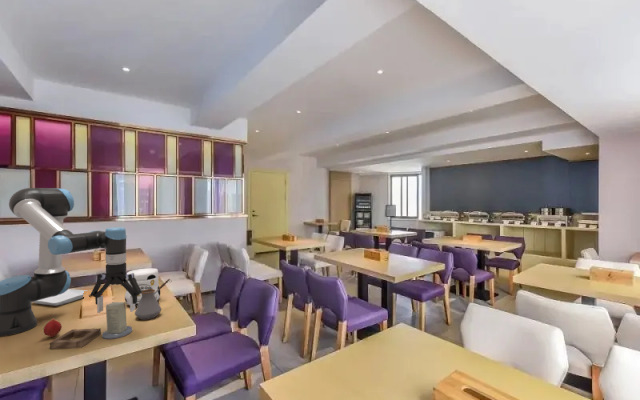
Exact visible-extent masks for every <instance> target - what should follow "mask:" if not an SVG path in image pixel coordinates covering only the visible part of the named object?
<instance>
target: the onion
mask: <svg viewBox="0 0 640 400" xmlns="http://www.w3.org/2000/svg"><path fill="white" fill-rule="evenodd" d="M62 327H63V326H62V324H61V322H59V321H58V320H56V319H55V318H52V319H50V320H49V321H48V322H47V323H46V324H45V325H44V328H43V334H44V335H46V336H47V337H50V338H55V337H56V336H57V335H58V334H59V333H60V332H61V330H62Z"/></svg>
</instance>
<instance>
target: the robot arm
mask: <svg viewBox="0 0 640 400" xmlns="http://www.w3.org/2000/svg"><path fill="white" fill-rule="evenodd" d="M8 206H9V209H10V211H11V212H12V214H14V215H15V216H16V217H17V218H20V219H23V220H25V222H27V223H28V224H29V225H30V226H31V227H33V229H35V230H36V231H37V232H38V233H39V245H38V246H39V247H38V248H39V249H38V268H36V269H35V270H34V272H33V276H31V275H29V274H22V275H21V274H20V275H15V276H11V277H8V278H4V279H2V280H0V337H6V336H5V335H7V336H12V335H17V334H20V333H23V332H26V331H29V330H31V329H33V328H35V327H36V326H38V319H37V317H36V316H35V314H34V311H33V310H32V303H34V302H33V301H37V300H41V299H45V298H49V297H54V296H57V295H59V294H62V293H64V292H66V291H67V290H68V289H70V286H71V282H72V281H71V280H72V279H71V278H72V277H71V276H70V275H71V274H70V273H69V272H68V270H66V268H65V267H64V266H63V265H62V261H63V255H67V254H72V253H77V252H78V253H79V252H84V251H90V250H96V249H97V250H98V249H103V250H105V263H106V264H105V273H106V274H105V273H101V274H98V275H97V281H96V283H95V284H94V287H93V289H92V290H91V291H92V292H91V294H90V295H89V296H90V297H94V298H95V305H97V306H96V307H97V309H96V310H97V313H98V314H99V313H101V312H103V311H104V295H103V293H104V292H105V291H106V290H107V289H108V288H109V286H110V285H111V286H113V285H117V286H119V285H120V286H122V287H123V288H124V289H125V290H127V291H128V292H129V293H130V294H131V295H132V296H131V297H130V305H129V308H130V309H129V312H130V313H133V312H134V311H136V306H135V303H137V295H139V294H141V293H142V291H141V289H140V287H139V285H138V284H137V282H136V280H135V278H134V273H131V274H127V234H126V233H127V231H126V228H125V227H121V226H119V227H116V226H115V227H108V228H106V229H105V231H102V230H93V231H89V232H83V233H73V232H72V231H70V230H69V229H68V228H66V226H64V219H66V218H67V217H68V213H69V212H71V211H72V210H73V209H74V206H75V200H74V197H73V195H72V194H71V192H70V191H69V190H68V189H66V188H59V187H58V188H57V187H53V188H52V187H49V188H48V187H27V188H22V189H20V190H18V191H16V192H15V193H13V194H12V195H11V197H10V198H9V201H8ZM126 277H127V278H126ZM105 279H106V282H104V280H105ZM127 279H129V282H130V284H131V285H132V286H131V285H130V284H129V283H128V281H127ZM103 282H104V285H103V286H102V284H103ZM101 286H102V287H101Z"/></svg>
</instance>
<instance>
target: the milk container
mask: <svg viewBox="0 0 640 400" xmlns="http://www.w3.org/2000/svg"><path fill="white" fill-rule="evenodd" d="M131 273H134V278H135V280H136V282H137V284H138V285H139V287H140V289H141V291H143V290H148V289H154V290H155V291H156V290H158V288H159V287H160V285H159V270H158V268H154V267H146V268H140V269H139V268H138V269H133V270H130V271H128V272H126V274H131ZM126 280H127V281H128V283H129V284H130V282H129V279H127V277H126ZM130 285H131V284H130ZM131 286H132V285H131ZM125 290H126V289H125ZM131 296H132V295H131V294H130V293H129V292H128V291H127V290H126V291H125V295H124V302H126V304H127V305H128V306H130V297H131ZM154 296H155V298H156V300H157V301H159V299H160V297H161V289H160V290H159V291H158V292H157V293H156V294H155V295H154ZM141 297H142V294H139V295H137V303H135V307H138V304H139V302H140V300H141ZM127 305H126V306H127Z"/></svg>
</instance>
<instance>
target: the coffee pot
mask: <svg viewBox="0 0 640 400" xmlns="http://www.w3.org/2000/svg"><path fill="white" fill-rule="evenodd" d="M169 282H170V283H172V280H171V279H170V278H169V279H167V280H165V282H163V283H162V284H161V285H159V288H158V290H156V291H155V290H154V289H148V290H143V291H142V293H141V294H142V297H141V300H140V302H139V304H138V306H136V308H135V310H134V311H135V312H134V315H135V317H136V318H137V319H139V320H141V321H142V320H151V319H154V318H156V317H157V316H158V315H159V314H160V312H161V311H162V308H161V305H160V304H159V302H158V300H156V298H155V296H154V295H155V294H156V293H157V292H158V291H159V290H160V291H161V290H162V288H164V286H166V284H168V283H169Z"/></svg>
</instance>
